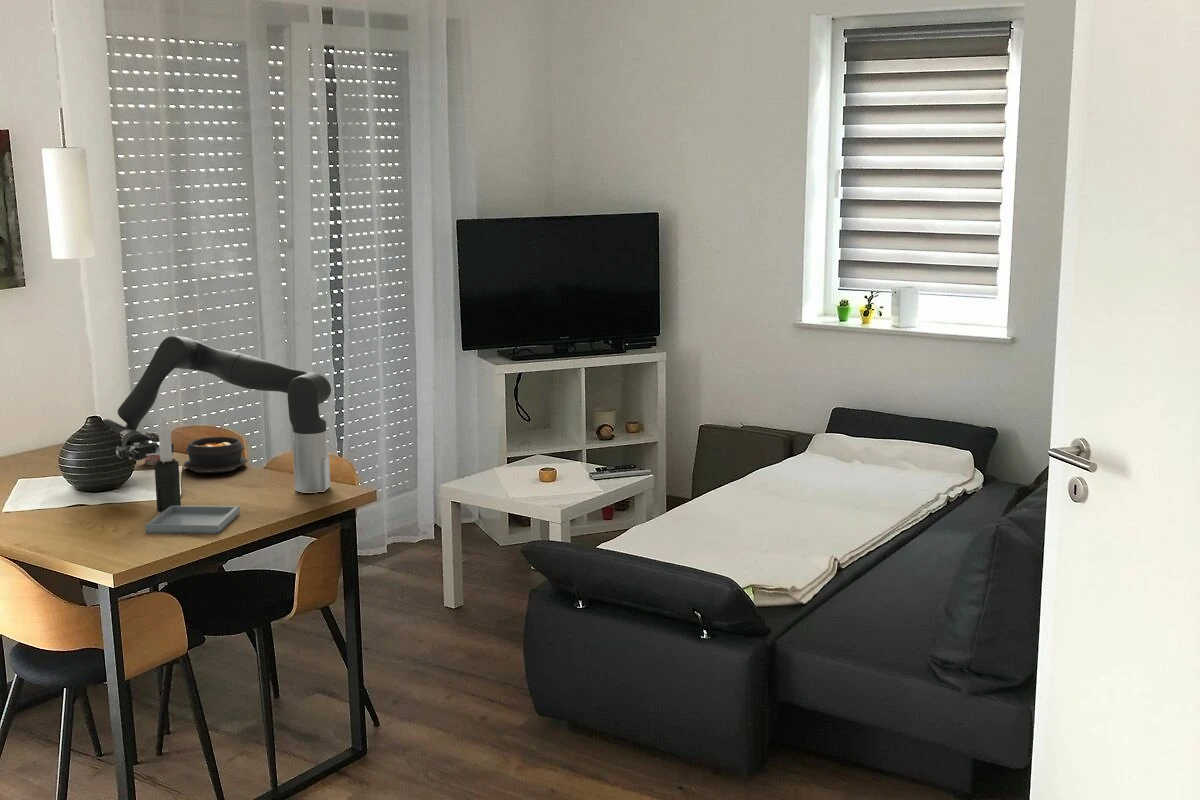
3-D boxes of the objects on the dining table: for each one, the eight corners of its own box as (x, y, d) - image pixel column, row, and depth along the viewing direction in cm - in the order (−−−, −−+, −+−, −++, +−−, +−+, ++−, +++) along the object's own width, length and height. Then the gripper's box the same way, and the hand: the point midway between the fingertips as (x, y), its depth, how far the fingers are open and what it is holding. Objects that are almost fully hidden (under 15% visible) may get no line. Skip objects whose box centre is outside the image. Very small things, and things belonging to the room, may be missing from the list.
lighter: (170, 464, 369) (168, 432, 367) (162, 466, 366) (160, 434, 364) (150, 461, 372) (148, 430, 370) (142, 463, 369) (140, 432, 367)
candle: (182, 507, 321) (177, 415, 317) (174, 512, 316) (168, 419, 312) (164, 506, 322) (158, 415, 317) (155, 511, 317) (149, 418, 312)
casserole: (246, 476, 355) (245, 449, 353) (180, 480, 350) (179, 452, 348) (248, 458, 378) (247, 431, 377) (186, 460, 374) (185, 434, 372)
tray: (239, 514, 315) (239, 506, 314) (218, 534, 297) (218, 525, 297) (171, 513, 315) (170, 505, 314) (145, 533, 297) (145, 524, 297)
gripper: (106, 434, 330) (126, 444, 318) (158, 427, 339) (179, 437, 327) (108, 461, 331) (128, 471, 319) (159, 453, 340) (181, 464, 328)
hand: (154, 454), depth 323 cm, fingers open, 8 cm apart
